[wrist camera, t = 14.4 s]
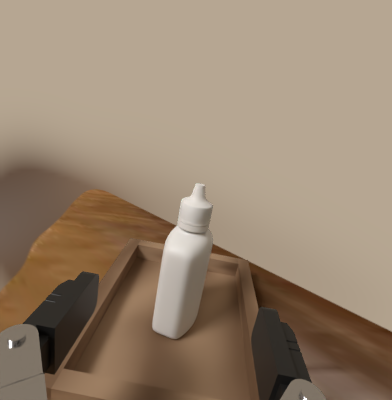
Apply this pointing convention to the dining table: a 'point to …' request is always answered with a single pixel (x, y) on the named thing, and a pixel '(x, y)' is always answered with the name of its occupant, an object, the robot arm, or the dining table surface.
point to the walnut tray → (162, 337)
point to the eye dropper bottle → (184, 267)
